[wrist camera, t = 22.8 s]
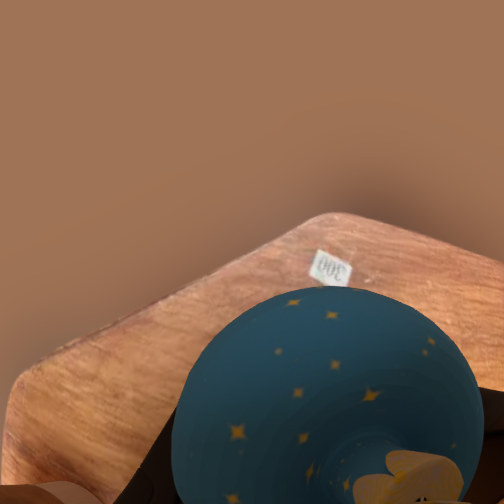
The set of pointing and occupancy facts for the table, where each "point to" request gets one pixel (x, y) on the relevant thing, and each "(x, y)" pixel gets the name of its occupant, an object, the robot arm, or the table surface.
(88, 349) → the table surface
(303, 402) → the ornament
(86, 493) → the coffee cup
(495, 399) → the robot arm
